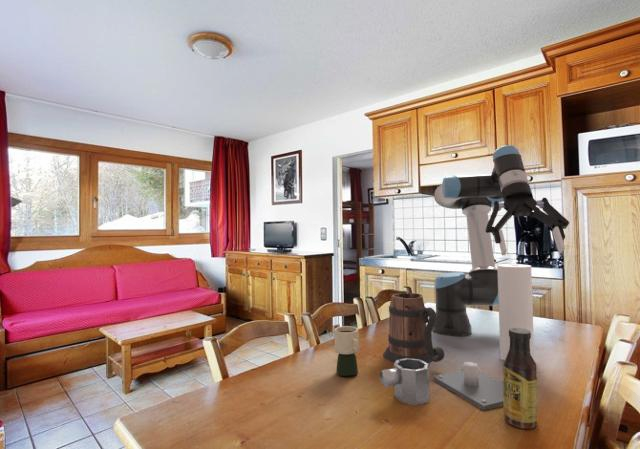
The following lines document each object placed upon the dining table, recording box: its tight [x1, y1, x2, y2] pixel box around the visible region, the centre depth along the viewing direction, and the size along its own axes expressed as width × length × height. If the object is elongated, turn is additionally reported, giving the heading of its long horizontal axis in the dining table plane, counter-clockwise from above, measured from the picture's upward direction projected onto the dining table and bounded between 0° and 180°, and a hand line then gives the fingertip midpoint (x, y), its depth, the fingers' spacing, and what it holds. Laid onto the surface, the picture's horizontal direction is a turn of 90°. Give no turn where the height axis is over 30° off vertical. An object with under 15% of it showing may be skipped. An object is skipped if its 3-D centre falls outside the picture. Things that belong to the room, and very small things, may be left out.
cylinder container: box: [496, 263, 535, 361], centre depth 111 cm, size 9×9×30 cm
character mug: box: [333, 325, 360, 377], centre depth 102 cm, size 11×7×13 cm, turn 30°
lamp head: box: [379, 358, 431, 406], centre depth 86 cm, size 12×8×8 cm, turn 110°
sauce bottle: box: [502, 328, 538, 430], centre depth 74 cm, size 6×6×20 cm
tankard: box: [382, 292, 445, 364], centre depth 113 cm, size 24×17×20 cm
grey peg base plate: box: [432, 361, 504, 411], centre depth 91 cm, size 18×14×6 cm
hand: (532, 251), depth 92 cm, fingers open, 13 cm apart
